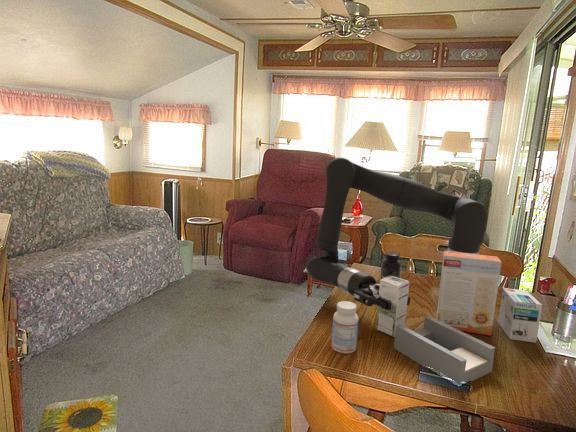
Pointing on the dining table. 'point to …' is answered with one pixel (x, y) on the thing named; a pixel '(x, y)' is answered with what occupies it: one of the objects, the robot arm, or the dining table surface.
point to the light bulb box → (520, 315)
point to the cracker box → (468, 291)
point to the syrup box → (392, 304)
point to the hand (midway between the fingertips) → (399, 304)
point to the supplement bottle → (391, 265)
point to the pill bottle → (345, 328)
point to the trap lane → (446, 350)
